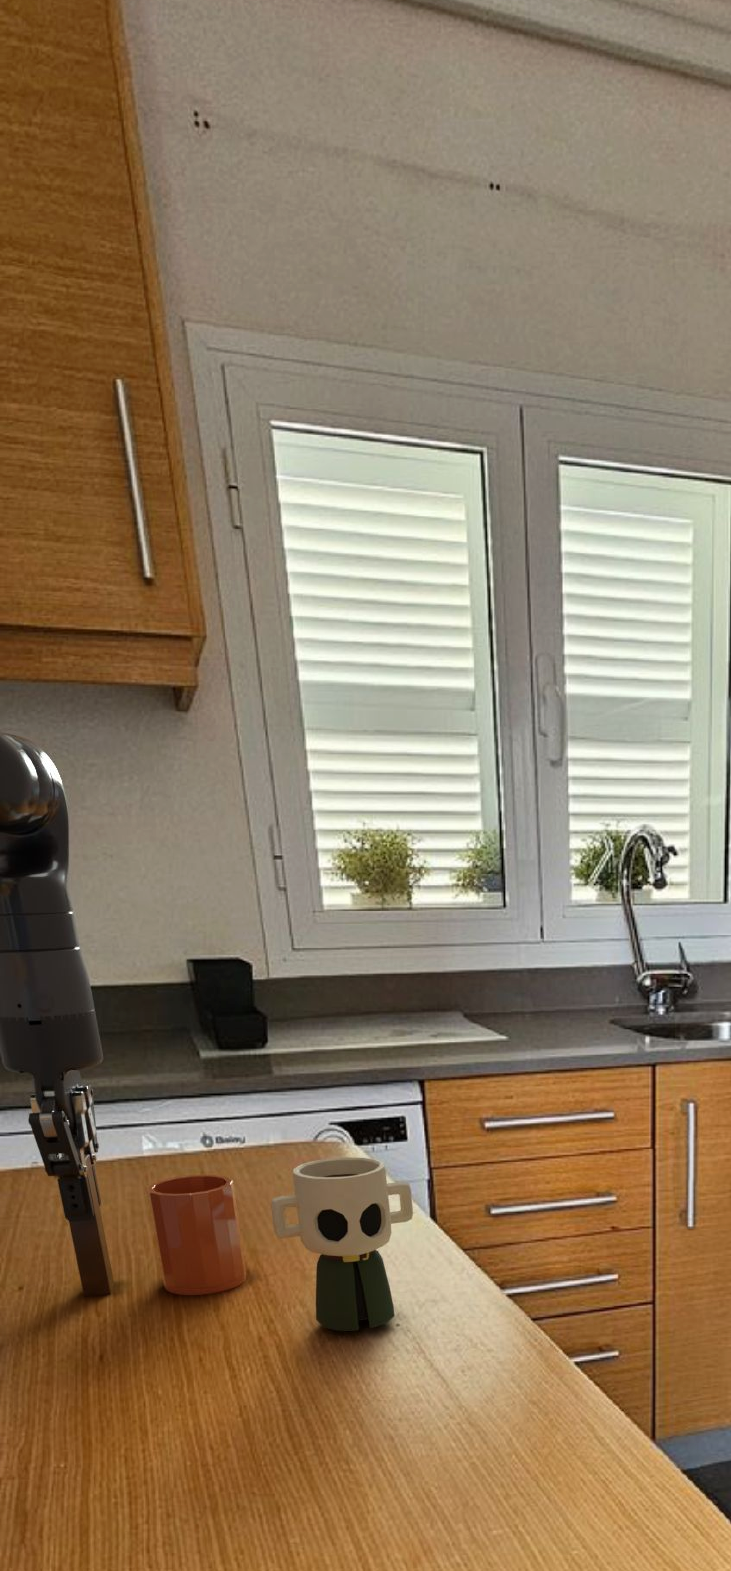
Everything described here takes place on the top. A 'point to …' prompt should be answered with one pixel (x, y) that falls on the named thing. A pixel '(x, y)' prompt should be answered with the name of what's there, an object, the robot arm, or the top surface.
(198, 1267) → the tumbler
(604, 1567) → the top surface
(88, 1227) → the stick
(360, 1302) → the character mug
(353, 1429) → the top surface
